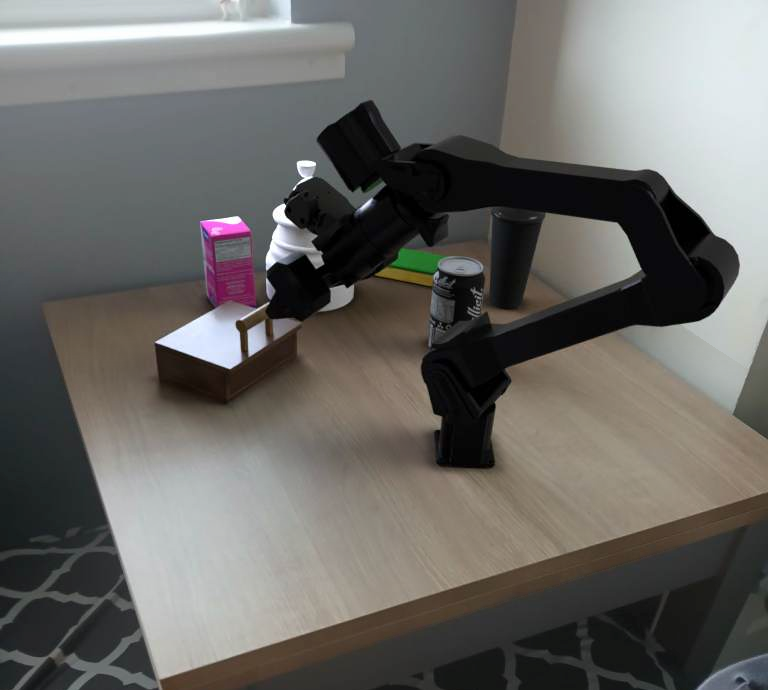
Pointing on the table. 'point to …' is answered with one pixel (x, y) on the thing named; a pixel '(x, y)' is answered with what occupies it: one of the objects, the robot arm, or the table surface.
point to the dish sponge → (413, 267)
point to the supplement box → (228, 261)
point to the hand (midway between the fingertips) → (292, 300)
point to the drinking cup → (512, 254)
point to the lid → (228, 336)
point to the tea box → (220, 382)
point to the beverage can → (455, 294)
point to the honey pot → (301, 246)
